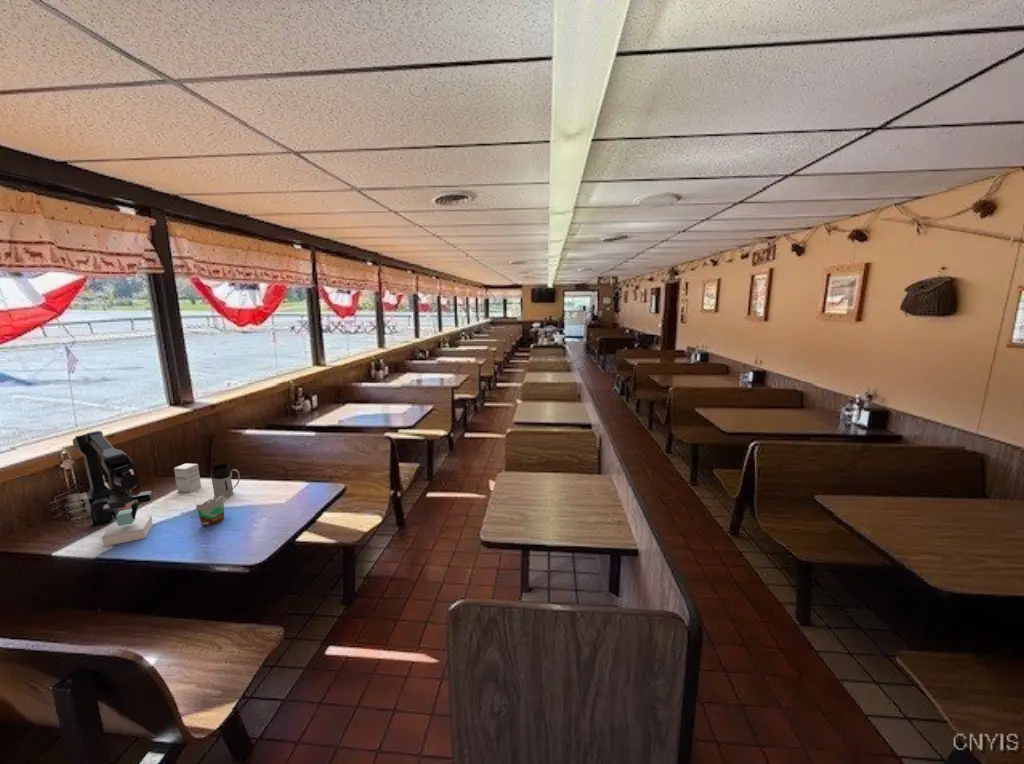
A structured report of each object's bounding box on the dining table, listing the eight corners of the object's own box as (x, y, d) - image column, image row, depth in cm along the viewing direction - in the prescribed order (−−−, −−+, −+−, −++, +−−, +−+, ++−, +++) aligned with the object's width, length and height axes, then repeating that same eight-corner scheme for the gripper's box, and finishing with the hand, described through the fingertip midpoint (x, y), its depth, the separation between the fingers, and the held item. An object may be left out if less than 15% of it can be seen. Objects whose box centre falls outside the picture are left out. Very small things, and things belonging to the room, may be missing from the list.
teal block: (118, 526, 183) (115, 515, 182) (121, 521, 187) (119, 511, 186) (132, 523, 185) (130, 513, 184) (135, 518, 189) (133, 508, 188)
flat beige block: (103, 546, 178) (101, 537, 178) (114, 531, 190) (112, 522, 189) (144, 538, 184) (143, 528, 183) (153, 524, 196) (151, 515, 195)
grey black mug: (222, 491, 228) (218, 463, 225) (248, 492, 226) (244, 464, 223) (209, 499, 219) (204, 469, 217) (235, 500, 217) (231, 470, 215)
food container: (211, 528, 190) (207, 506, 189) (198, 527, 192) (195, 505, 190) (234, 515, 202) (231, 493, 200) (222, 514, 204) (219, 493, 202)
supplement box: (177, 492, 229) (172, 468, 227) (189, 486, 236) (185, 462, 234) (189, 492, 228) (185, 468, 225) (202, 486, 235) (198, 463, 233)
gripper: (81, 496, 172) (89, 534, 175) (143, 486, 180) (149, 523, 183) (92, 486, 182) (99, 522, 185) (150, 477, 190) (156, 511, 193)
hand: (126, 520), depth 186 cm, fingers closed on teal block, 5 cm apart
